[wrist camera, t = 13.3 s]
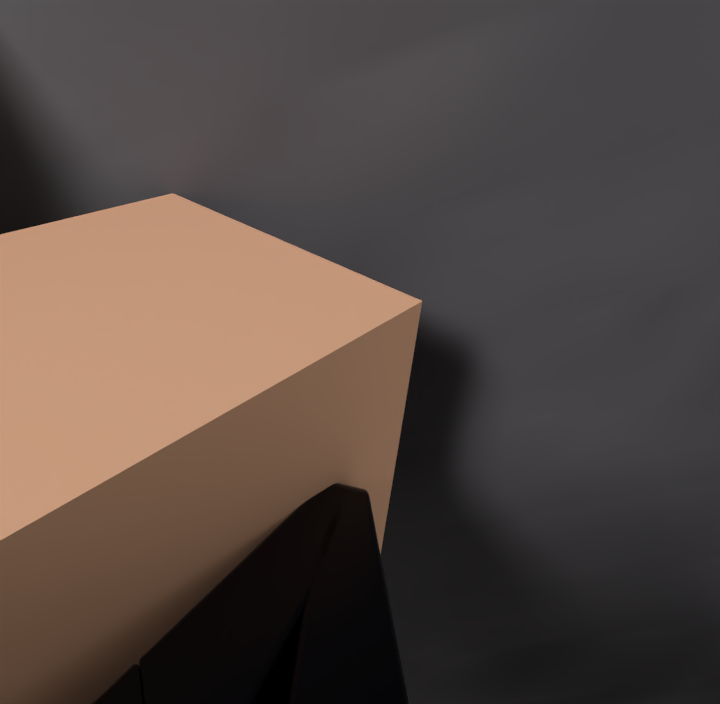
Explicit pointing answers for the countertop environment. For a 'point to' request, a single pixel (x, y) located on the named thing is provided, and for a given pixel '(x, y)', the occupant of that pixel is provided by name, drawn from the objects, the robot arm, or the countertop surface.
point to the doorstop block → (171, 422)
